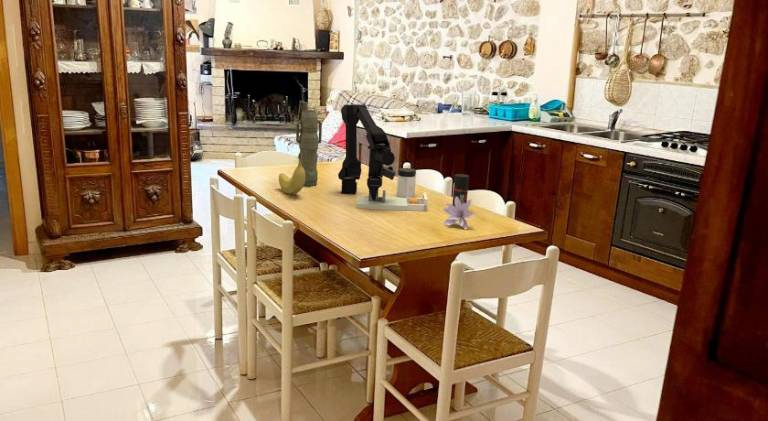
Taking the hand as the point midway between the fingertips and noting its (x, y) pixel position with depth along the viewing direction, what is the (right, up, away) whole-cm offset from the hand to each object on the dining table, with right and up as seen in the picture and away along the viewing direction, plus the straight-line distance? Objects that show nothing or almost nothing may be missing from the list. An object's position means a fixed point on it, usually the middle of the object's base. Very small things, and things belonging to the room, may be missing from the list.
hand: (374, 197), depth 260 cm
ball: (+17, -2, 0) cm, 17 cm away
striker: (+1, -1, 0) cm, 2 cm away
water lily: (+32, -12, -23) cm, 41 cm away
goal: (+18, -4, +1) cm, 18 cm away
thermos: (-32, +6, +31) cm, 45 cm away
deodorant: (+36, -6, -1) cm, 36 cm away
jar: (+14, +1, +20) cm, 25 cm away
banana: (-37, +2, +12) cm, 39 cm away
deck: (+3, -3, +1) cm, 5 cm away
